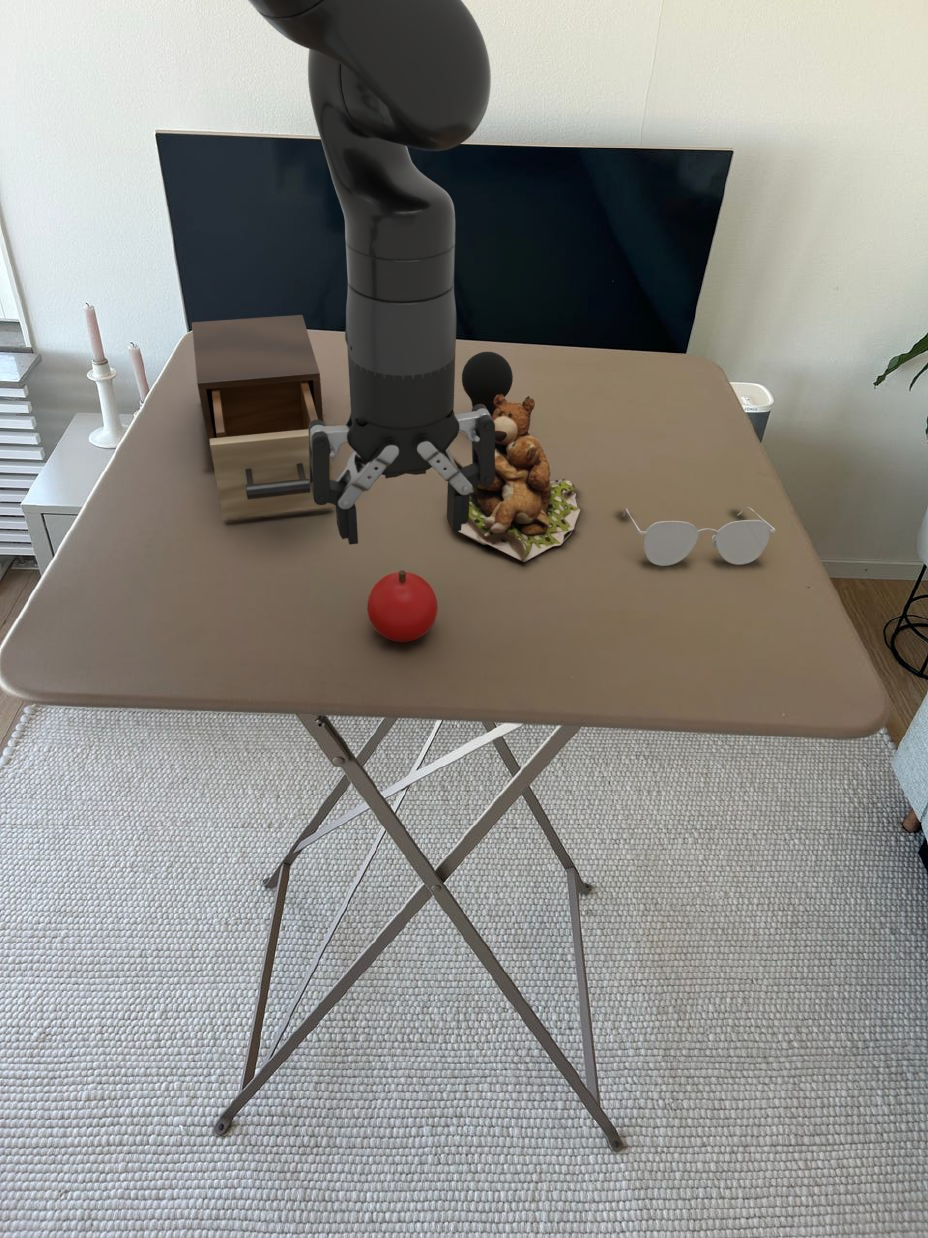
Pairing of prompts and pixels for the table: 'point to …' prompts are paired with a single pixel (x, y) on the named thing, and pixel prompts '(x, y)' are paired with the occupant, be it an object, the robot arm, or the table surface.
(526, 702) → the table surface
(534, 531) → the bear figurine
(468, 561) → the table surface
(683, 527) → the sunglasses
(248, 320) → the cabinet
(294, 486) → the drawer
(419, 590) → the apple
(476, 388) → the light bulb
